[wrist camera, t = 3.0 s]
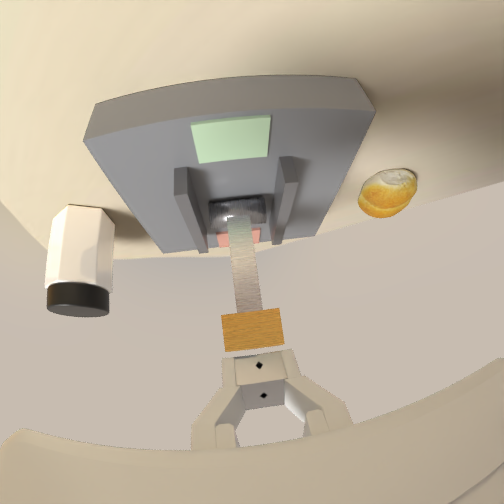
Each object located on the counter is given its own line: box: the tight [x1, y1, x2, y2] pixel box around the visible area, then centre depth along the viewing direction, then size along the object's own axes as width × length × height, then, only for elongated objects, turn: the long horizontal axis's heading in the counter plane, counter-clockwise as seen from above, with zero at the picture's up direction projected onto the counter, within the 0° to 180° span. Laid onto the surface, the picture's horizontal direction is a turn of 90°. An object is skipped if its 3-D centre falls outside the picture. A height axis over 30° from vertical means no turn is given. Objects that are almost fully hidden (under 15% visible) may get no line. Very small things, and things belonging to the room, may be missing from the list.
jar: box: [45, 205, 115, 317], centre depth 30 cm, size 9×8×12 cm
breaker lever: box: [208, 197, 284, 352], centre depth 24 cm, size 5×3×13 cm, turn 89°
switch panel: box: [83, 75, 376, 254], centre depth 26 cm, size 20×22×6 cm
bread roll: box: [358, 169, 417, 218], centre depth 34 cm, size 8×9×4 cm
